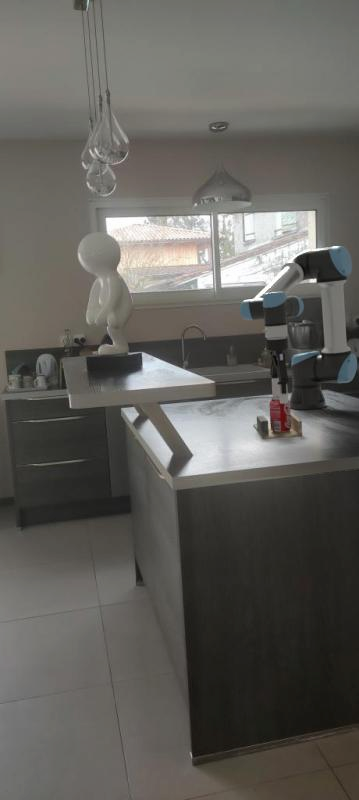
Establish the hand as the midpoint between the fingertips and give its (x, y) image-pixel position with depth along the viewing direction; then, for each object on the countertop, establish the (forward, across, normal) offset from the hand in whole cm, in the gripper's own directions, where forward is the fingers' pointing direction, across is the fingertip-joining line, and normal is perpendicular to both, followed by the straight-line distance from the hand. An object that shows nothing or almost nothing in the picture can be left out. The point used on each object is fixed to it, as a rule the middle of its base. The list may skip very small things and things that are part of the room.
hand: (280, 399), depth 200 cm
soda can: (+11, +1, 0) cm, 11 cm away
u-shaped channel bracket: (+12, -4, -1) cm, 13 cm away
